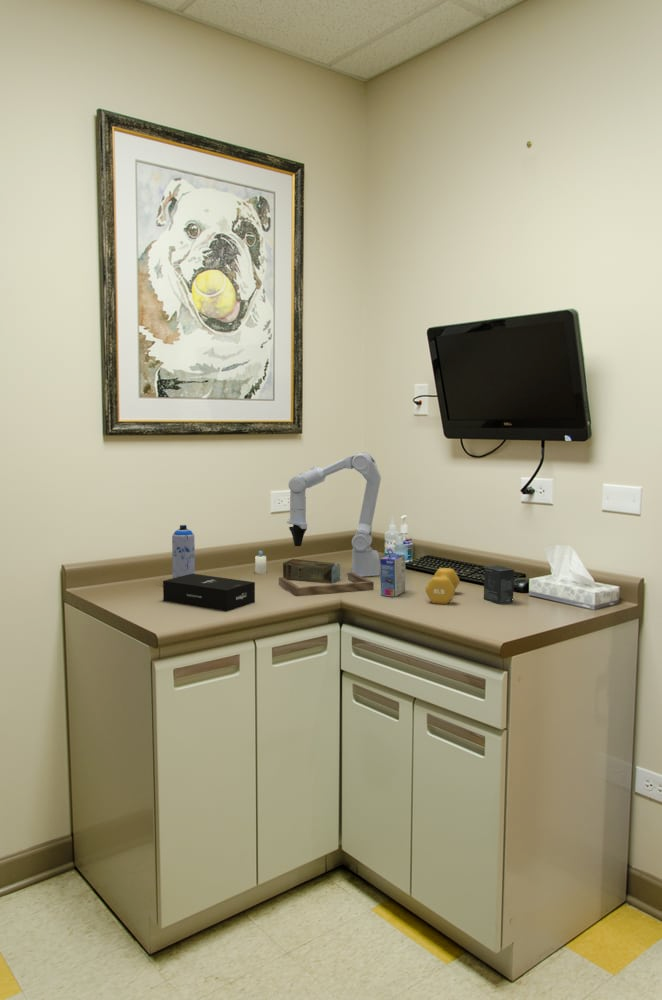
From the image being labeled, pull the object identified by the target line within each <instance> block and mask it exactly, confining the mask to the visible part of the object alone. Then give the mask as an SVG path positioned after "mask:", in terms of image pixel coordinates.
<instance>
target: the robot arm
mask: <svg viewBox="0 0 662 1000" xmlns="http://www.w3.org/2000/svg"><path fill="white" fill-rule="evenodd" d="M344 469H346V470H347V469H348V470H349V469H350V470H352V469H354V471H356V472H358V473H359V474H361V475H362V477H363V478H364V479H365V480H366V483H365V490H364V494H363V500H362V504H361V509H360V516H359V520H358V525H357V528H356V531H355V535H354V536H353V537H352V539H351V546H352V549H351V572H352V573H355V574H357V575H359V576H361V577H363V578H366V577H374V576H375V577H376V576H378V577H379V576H381V573H380V555H379V551H378V550H376V549H373V548H372V546H371V545H372V543H373V535H372V532H373V531H372V530H373V519H374V517H375V516H374V515H375V511H376V506H377V501H378V500H377V499H378V497H379V496H378V494H379V489H380V485H381V480H382V476H381V473H380V471H379V469H378V466H377V464H376V459H374V457H372V455H371V454H369V453H368V452H361V453H356V454H354V455H351V456H346V457H343V458H341V459H340V460H339V459H338V460H337V461H335V462H333V463H331V464H329V465H327V466H325V467H323V468H322V467H319V466H316V467H315V466H312V467H310V470H307V471H305V472H301V473H299V474H298V476H297V475H296V476H293V477H292V478H291V479H290V480H289V481H288V488H289V490H290V492H289V493H290V495H289V518H288V520H287V521H286V524H288V525H292V526H289V527H288V530H289V531H290V533H291V536H292V540H293V544H294V545H293V546H295V547H301V546H302V544H303V540H304V539H303V538H304V536H305V533H306V532H307V530H308V523H307V519H306V517H307V516H306V512H307V510H306V509H307V506H306V503H307V502H306V501H307V500H306V499H307V497H306V496H307V495H306V490H307V489H310V488H312V487H315V486H316V485H318V484H320V483H323V482H325V479H326V477H328V476H330V475H333V474H335V473H337V472H340V471H342V470H344Z"/></svg>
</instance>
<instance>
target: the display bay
mask: <svg viewBox="0 0 662 1000" xmlns="http://www.w3.org/2000/svg"><path fill="white" fill-rule="evenodd" d="M347 580H348V581H349V582H345V583H335V584H334V583H330V584H321V585H310V586H309V585H308V586H298V585H296V584H295V583H293V582H291V580H289V579H285V578H283V576H282V577H278V585H279V586H280V587H281V588H283V589H284V590H286V591H288V592H289V593H291V594H293V595H294V596H296V597H301V596H302V597H303V596H315V595H325V594H337V593H350V592H351V593H352V592H359V591H360V592H362V591H372V590H375V588H374V584H375V583H374V581H372V580H370V579H368V578H366V577H361V576H359V575H357V574H355V573H352V571H348V572H347Z"/></svg>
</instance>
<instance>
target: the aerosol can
mask: <svg viewBox="0 0 662 1000" xmlns="http://www.w3.org/2000/svg"><path fill="white" fill-rule="evenodd" d="M171 546H172V549H171V550H172V551H171V552H172V553H171V554H172V556H171V557H172V579H173V578H177V577H181V576H185V575H189V574H196V566H195V565H196V563H195V562H196V559H195V534H194V532H193V531H192V530H190V529H189V528H188V527H187V524H181V525H179V528H178V529H177V530H175V531H174V533H173V534H172V536H171Z"/></svg>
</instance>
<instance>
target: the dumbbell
mask: <svg viewBox="0 0 662 1000" xmlns="http://www.w3.org/2000/svg"><path fill="white" fill-rule="evenodd" d="M459 584H460V578H459V576H458V574H457V573H456V571H455V570H454V568H451V567H450V568H449V567H440V568H438V569H437V570H436V571H435V573H434V574H433V576H432V578H431V579H430V581H429V582H428V583H427V585H426V587H425V593H426V595H427V597H428V599H429V601H430V602H431V603H432V604H437V605H447V604H449V603H450V601H451V600H452V598H453V597H454V595H455V592H456V589H457V587H458V586H459Z"/></svg>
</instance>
